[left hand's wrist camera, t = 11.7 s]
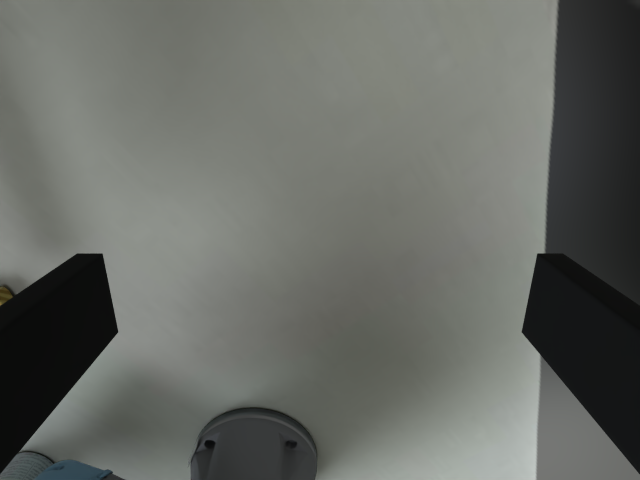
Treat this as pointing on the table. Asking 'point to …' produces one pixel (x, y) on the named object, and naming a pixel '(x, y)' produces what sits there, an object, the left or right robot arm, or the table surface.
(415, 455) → the table surface
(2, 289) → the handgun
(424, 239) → the table surface
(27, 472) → the spray paint can
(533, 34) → the table surface
